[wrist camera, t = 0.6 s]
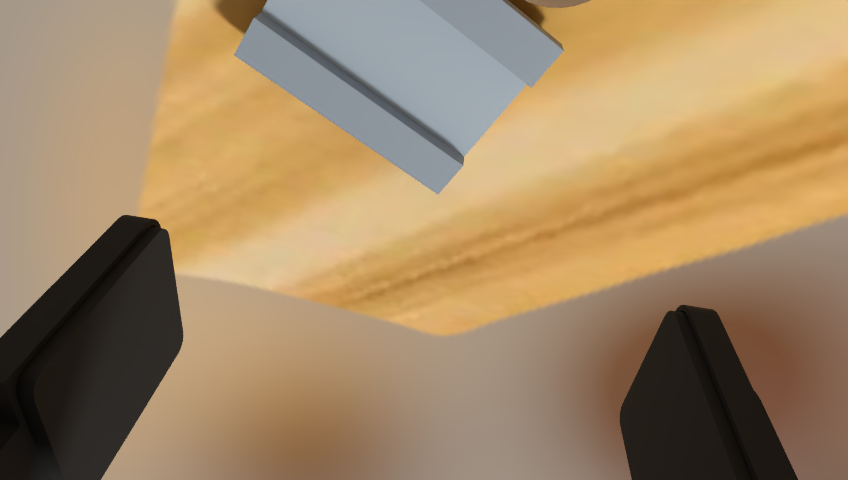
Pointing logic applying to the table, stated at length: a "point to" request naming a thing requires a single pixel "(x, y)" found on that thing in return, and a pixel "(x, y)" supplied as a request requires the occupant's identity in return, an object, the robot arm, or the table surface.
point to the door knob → (557, 3)
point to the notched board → (403, 70)
